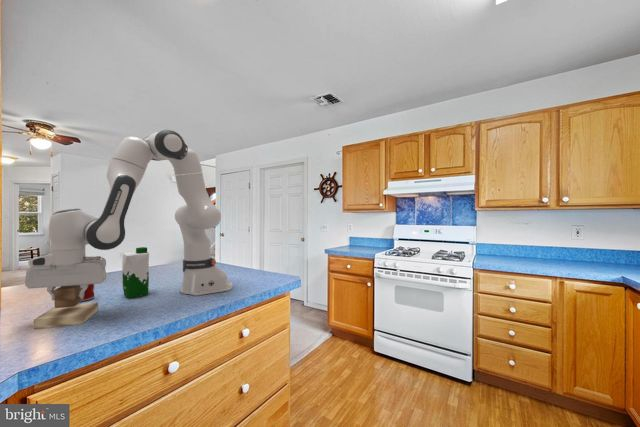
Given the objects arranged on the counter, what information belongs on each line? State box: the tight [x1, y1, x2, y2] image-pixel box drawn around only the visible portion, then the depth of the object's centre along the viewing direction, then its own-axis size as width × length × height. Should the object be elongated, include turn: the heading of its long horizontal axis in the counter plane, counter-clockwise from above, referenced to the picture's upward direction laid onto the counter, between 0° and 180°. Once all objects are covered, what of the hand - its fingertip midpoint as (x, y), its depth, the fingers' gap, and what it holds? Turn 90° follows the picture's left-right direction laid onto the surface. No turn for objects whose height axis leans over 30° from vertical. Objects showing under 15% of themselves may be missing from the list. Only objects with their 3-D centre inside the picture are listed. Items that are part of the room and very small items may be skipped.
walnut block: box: [54, 285, 81, 308], centre depth 90 cm, size 5×5×6 cm
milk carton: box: [121, 246, 150, 300], centre depth 114 cm, size 9×9×20 cm
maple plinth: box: [33, 301, 99, 330], centre depth 90 cm, size 12×12×3 cm
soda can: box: [80, 284, 95, 303], centre depth 108 cm, size 7×7×12 cm
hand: (68, 298), depth 90 cm, fingers closed on walnut block, 5 cm apart
